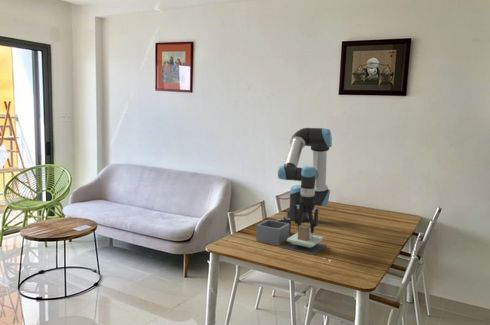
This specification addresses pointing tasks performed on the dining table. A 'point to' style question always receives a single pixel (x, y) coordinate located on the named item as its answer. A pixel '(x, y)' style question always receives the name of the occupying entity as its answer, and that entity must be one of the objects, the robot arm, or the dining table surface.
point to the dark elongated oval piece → (285, 221)
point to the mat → (305, 248)
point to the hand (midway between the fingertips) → (305, 237)
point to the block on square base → (304, 237)
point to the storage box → (272, 232)
